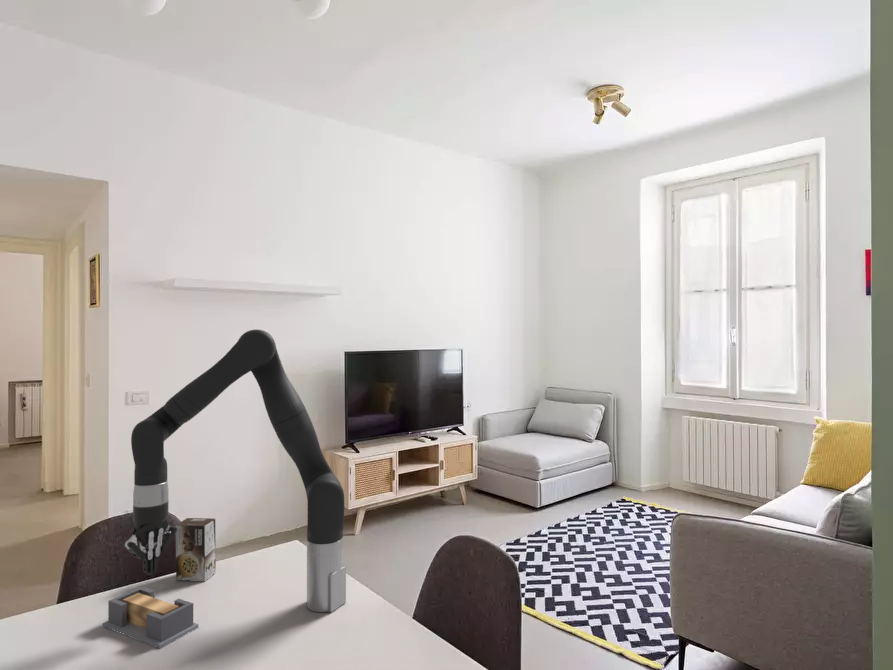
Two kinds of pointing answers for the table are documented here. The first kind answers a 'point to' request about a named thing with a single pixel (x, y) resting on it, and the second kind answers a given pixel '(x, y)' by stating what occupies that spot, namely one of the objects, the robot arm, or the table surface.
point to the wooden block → (145, 608)
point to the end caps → (151, 620)
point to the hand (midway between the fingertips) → (150, 572)
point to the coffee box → (195, 549)
